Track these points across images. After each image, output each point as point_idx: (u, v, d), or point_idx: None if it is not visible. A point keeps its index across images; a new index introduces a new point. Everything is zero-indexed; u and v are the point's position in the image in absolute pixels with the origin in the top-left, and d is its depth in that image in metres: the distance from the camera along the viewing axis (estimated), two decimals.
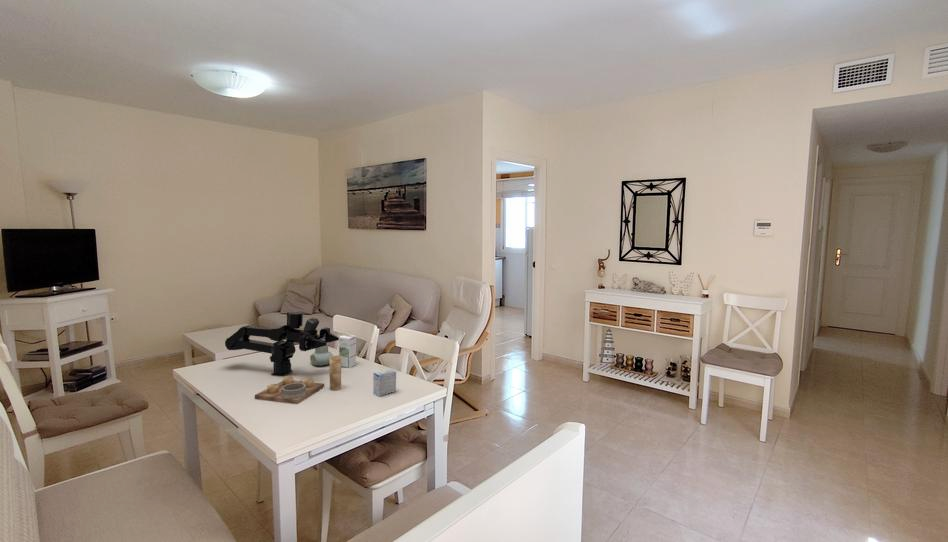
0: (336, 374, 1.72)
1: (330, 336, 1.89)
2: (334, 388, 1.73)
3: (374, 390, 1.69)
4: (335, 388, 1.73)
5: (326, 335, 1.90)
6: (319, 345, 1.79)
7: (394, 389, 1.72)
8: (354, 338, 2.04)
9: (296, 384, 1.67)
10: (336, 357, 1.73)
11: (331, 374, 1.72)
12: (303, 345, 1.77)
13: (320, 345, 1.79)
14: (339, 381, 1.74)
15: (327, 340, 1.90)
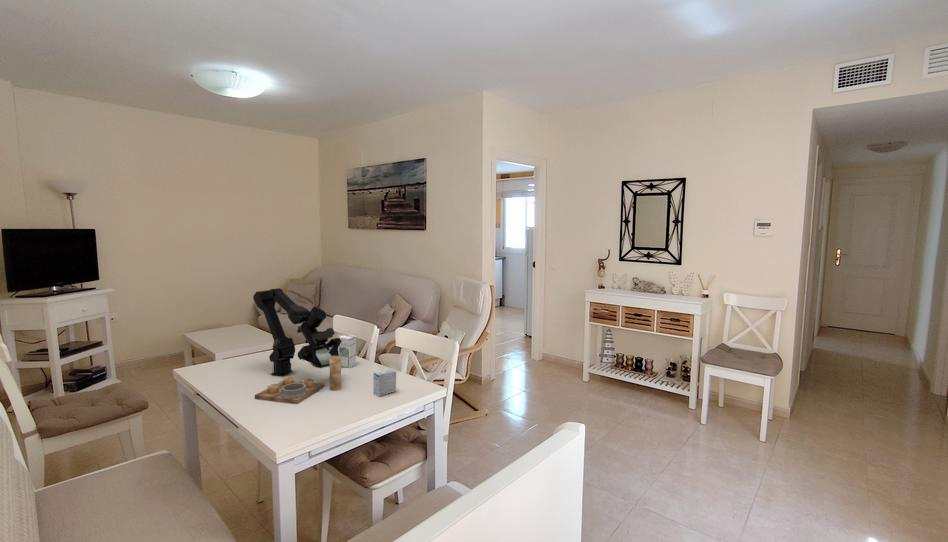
0: (336, 374, 1.72)
1: (335, 352, 1.80)
2: (334, 388, 1.73)
3: (374, 390, 1.69)
4: (335, 388, 1.73)
5: (333, 348, 1.81)
6: (315, 363, 1.72)
7: (394, 389, 1.72)
8: (354, 338, 2.04)
9: (296, 384, 1.67)
10: (336, 357, 1.73)
11: (331, 374, 1.72)
12: (301, 355, 1.70)
13: (316, 364, 1.72)
14: (339, 381, 1.74)
15: (331, 352, 1.82)
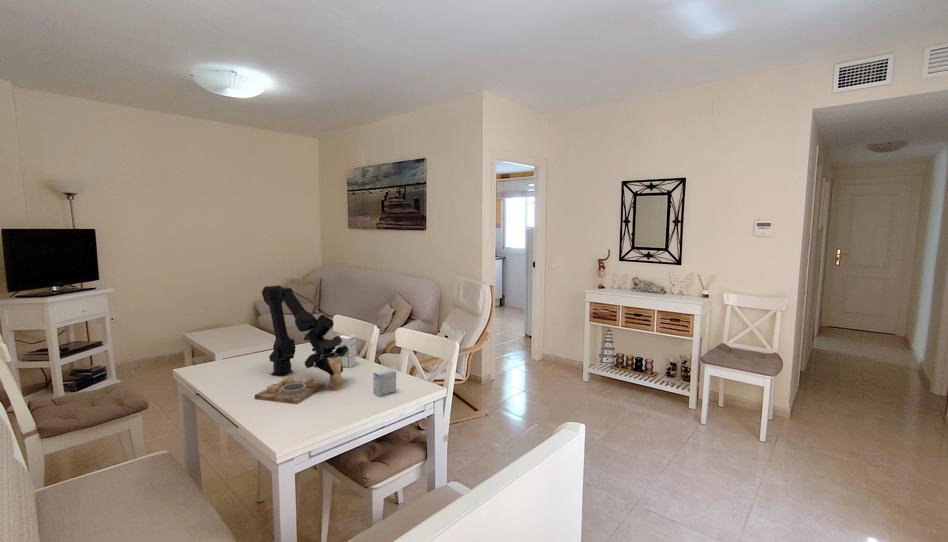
0: (336, 374, 1.72)
1: None
2: (334, 388, 1.73)
3: (374, 390, 1.69)
4: (335, 388, 1.73)
5: None
6: (327, 371, 1.72)
7: (394, 389, 1.72)
8: (354, 338, 2.04)
9: (296, 384, 1.67)
10: (336, 357, 1.73)
11: None
12: (308, 364, 1.68)
13: (327, 371, 1.72)
14: (339, 381, 1.74)
15: None
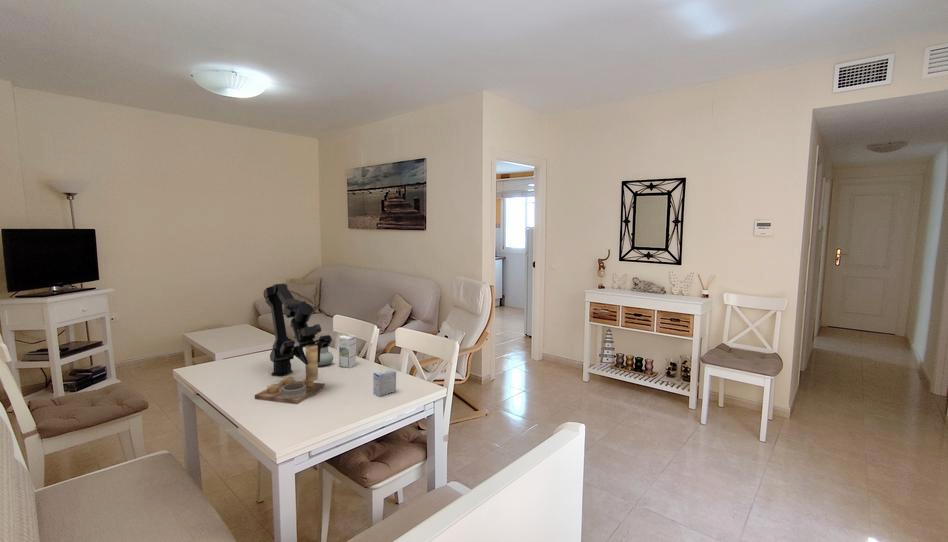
0: (310, 364, 1.64)
1: None
2: (308, 378, 1.65)
3: (374, 390, 1.69)
4: (309, 378, 1.65)
5: None
6: (301, 359, 1.65)
7: (394, 389, 1.72)
8: (354, 338, 2.04)
9: (296, 384, 1.67)
10: (312, 346, 1.65)
11: None
12: (282, 351, 1.63)
13: (302, 360, 1.64)
14: (314, 371, 1.65)
15: None
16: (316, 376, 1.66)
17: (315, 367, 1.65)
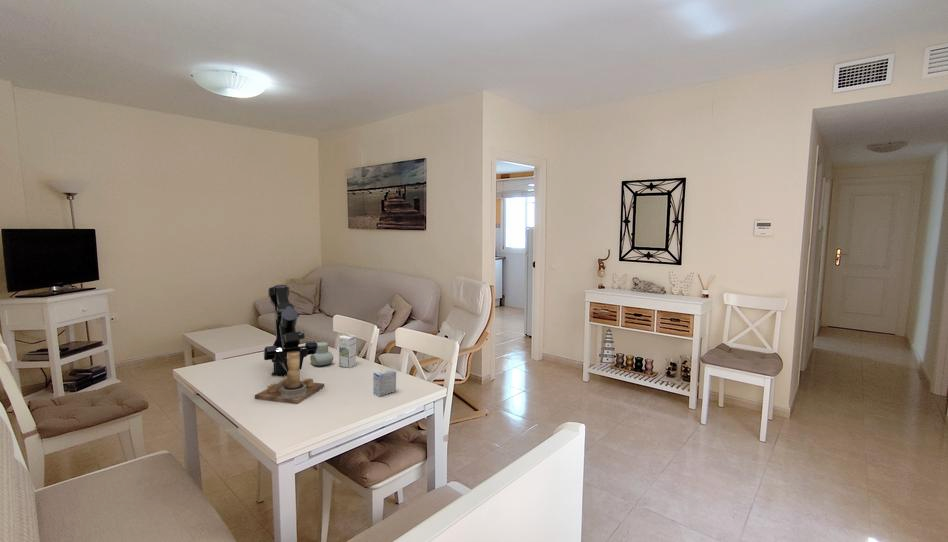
0: (290, 371, 1.61)
1: None
2: (289, 385, 1.61)
3: (374, 390, 1.69)
4: (290, 385, 1.61)
5: None
6: (283, 365, 1.62)
7: (394, 389, 1.72)
8: (354, 338, 2.04)
9: None
10: (293, 352, 1.62)
11: None
12: (264, 356, 1.61)
13: (283, 366, 1.62)
14: (295, 379, 1.61)
15: None
16: (297, 383, 1.62)
17: (296, 374, 1.61)
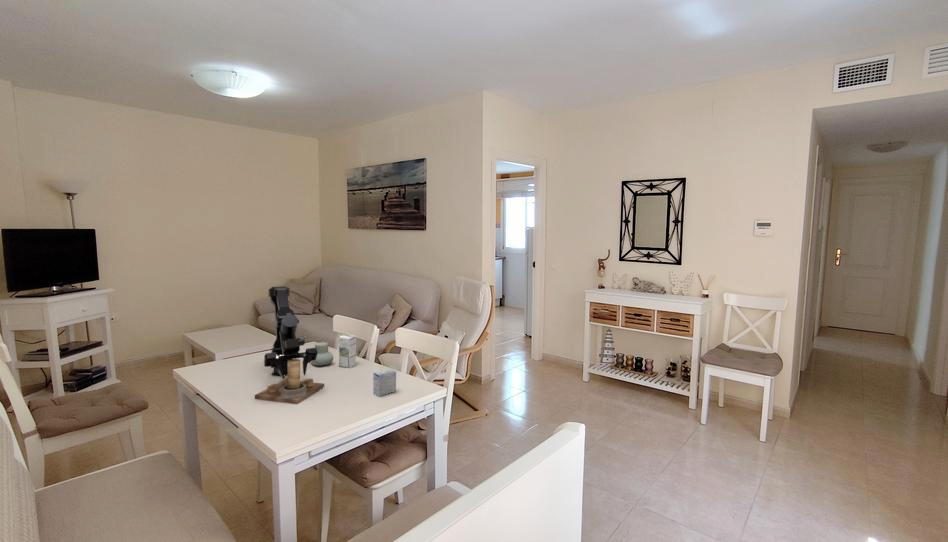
0: (291, 379, 1.61)
1: (303, 364, 1.66)
2: None
3: (374, 390, 1.69)
4: None
5: (303, 359, 1.67)
6: (279, 373, 1.61)
7: (394, 389, 1.72)
8: (354, 338, 2.03)
9: None
10: (294, 361, 1.62)
11: None
12: (264, 362, 1.61)
13: (280, 373, 1.61)
14: (295, 387, 1.62)
15: None
16: None
17: (296, 383, 1.62)
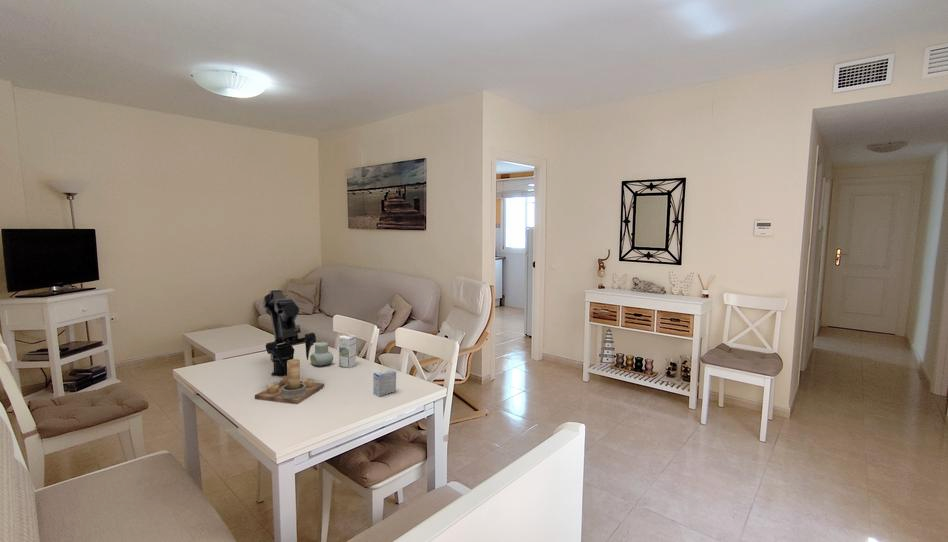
0: (290, 380, 1.61)
1: None
2: None
3: (374, 390, 1.69)
4: None
5: None
6: (279, 360, 1.72)
7: (394, 389, 1.72)
8: (354, 338, 2.04)
9: None
10: (293, 361, 1.62)
11: (287, 379, 1.62)
12: (267, 351, 1.72)
13: (279, 361, 1.72)
14: (295, 387, 1.62)
15: None
16: None
17: (296, 383, 1.62)
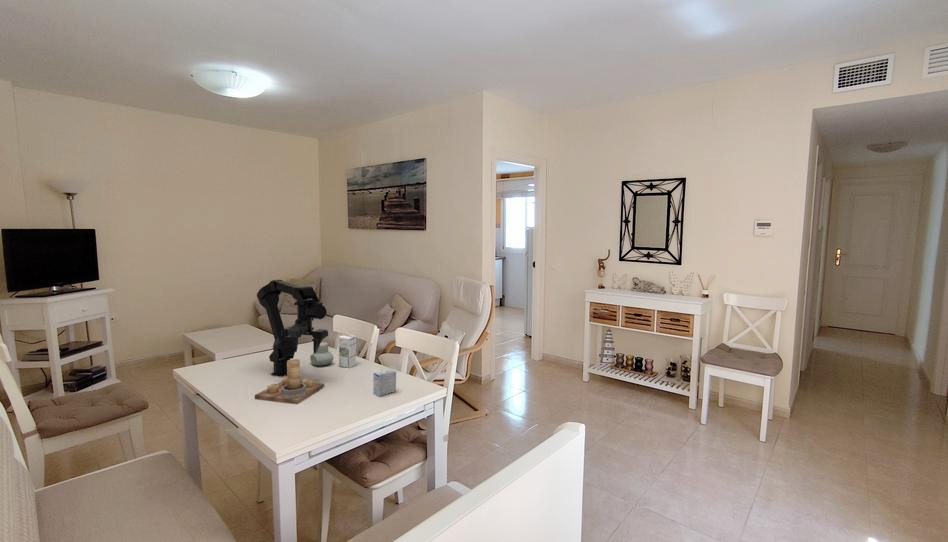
0: (290, 380, 1.61)
1: None
2: None
3: (374, 390, 1.69)
4: None
5: None
6: None
7: (394, 389, 1.72)
8: (354, 338, 2.04)
9: None
10: (293, 361, 1.62)
11: (287, 379, 1.62)
12: None
13: None
14: (295, 387, 1.62)
15: None
16: None
17: (296, 383, 1.62)
